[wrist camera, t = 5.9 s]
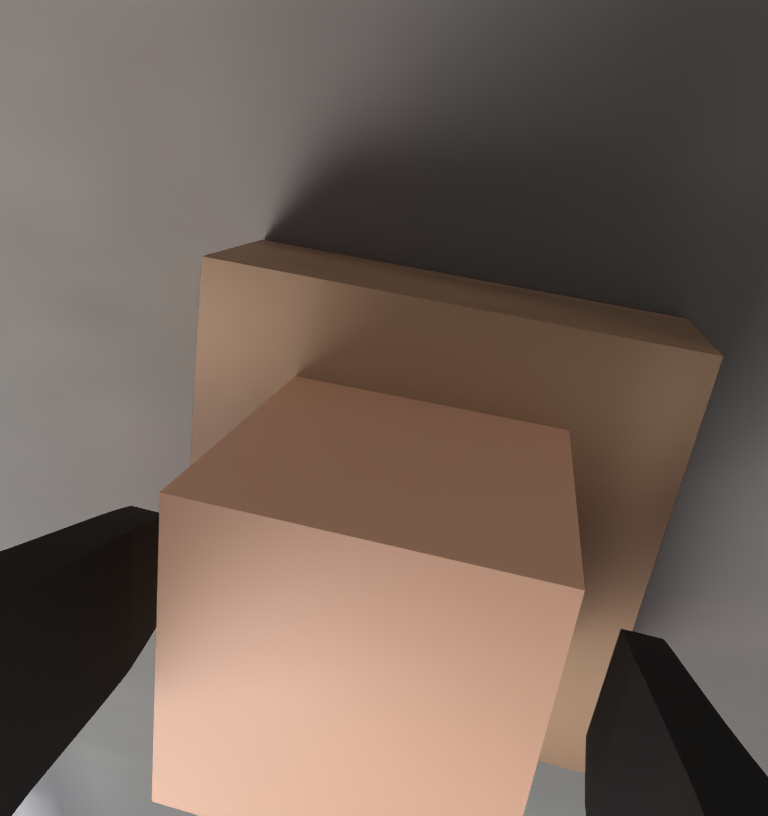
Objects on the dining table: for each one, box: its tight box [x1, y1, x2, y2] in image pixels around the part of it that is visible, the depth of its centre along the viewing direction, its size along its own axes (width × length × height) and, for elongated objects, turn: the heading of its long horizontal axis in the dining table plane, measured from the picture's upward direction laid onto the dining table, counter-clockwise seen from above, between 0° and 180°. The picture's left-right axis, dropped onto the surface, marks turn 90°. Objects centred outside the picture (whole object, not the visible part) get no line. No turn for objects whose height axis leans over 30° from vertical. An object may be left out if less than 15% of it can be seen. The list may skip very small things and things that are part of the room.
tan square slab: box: [190, 240, 723, 773], centre depth 15 cm, size 9×9×3 cm
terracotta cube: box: [152, 376, 585, 816], centre depth 11 cm, size 5×5×5 cm
